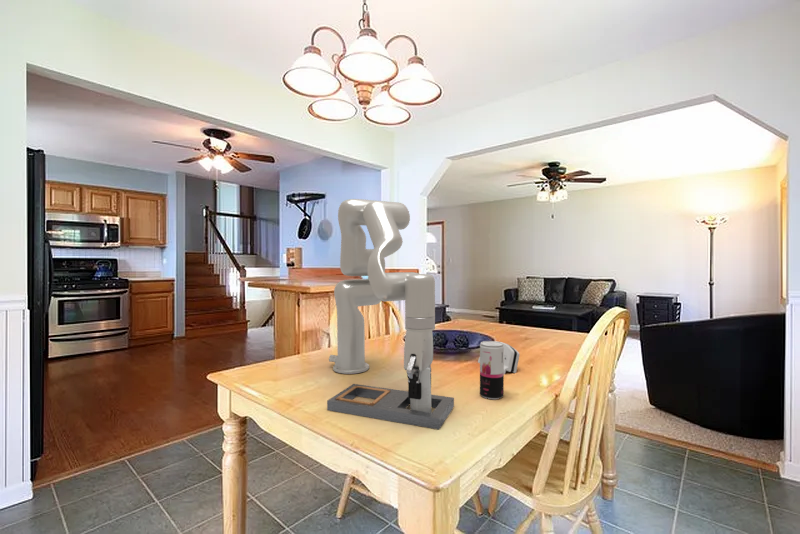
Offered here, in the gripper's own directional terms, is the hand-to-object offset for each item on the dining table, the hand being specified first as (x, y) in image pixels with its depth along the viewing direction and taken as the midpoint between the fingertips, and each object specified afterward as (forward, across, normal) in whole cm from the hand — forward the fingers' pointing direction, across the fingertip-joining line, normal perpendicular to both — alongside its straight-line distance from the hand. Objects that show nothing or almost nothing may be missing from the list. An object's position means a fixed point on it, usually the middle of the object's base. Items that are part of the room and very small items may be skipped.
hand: (420, 392), depth 96 cm
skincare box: (+5, 0, 0) cm, 5 cm away
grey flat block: (+5, 0, -8) cm, 10 cm away
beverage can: (+5, -19, +15) cm, 25 cm away
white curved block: (+6, -49, +13) cm, 51 cm away
